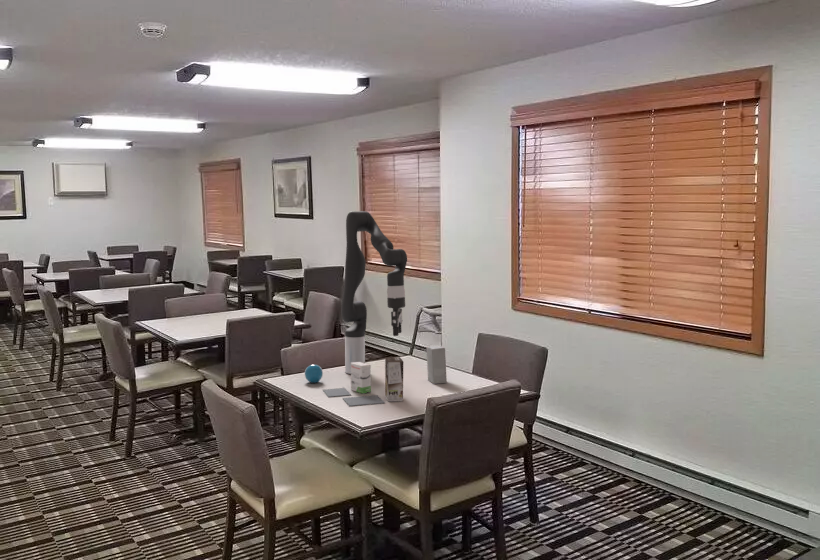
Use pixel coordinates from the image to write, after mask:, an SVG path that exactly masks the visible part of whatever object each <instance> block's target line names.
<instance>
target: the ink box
mask: <svg viewBox="0 0 820 560" xmlns="http://www.w3.org/2000/svg"><path fill="white" fill-rule="evenodd" d="M371 366H372V365H371V364H368V363H366V362H365V363H362V362H353V363H351V374H350V390H351V391H354V392H356V393H359V394H363V393H364V394H367V392H369V393H372V385H371V384H372V379H371V378H372V377H371V375H372V374H371V372H372V371H371V370H372V369H371Z"/></svg>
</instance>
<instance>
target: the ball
mask: <svg viewBox="0 0 820 560" xmlns="http://www.w3.org/2000/svg"><path fill="white" fill-rule="evenodd" d="M323 375H324V373H323V369H322V367H321V366H320V365H318V364H310V365H308V366H307V367H306V368H305V370H304V376H305V377H304V378H305V379H306V381H307V382H309V383H312V384H313V383H314V384H315V383H318V382H320V381H321V380H322V378H323Z"/></svg>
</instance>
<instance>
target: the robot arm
mask: <svg viewBox="0 0 820 560" xmlns="http://www.w3.org/2000/svg"><path fill="white" fill-rule="evenodd" d="M345 219H346V220H345V232H346V233H345V237H346V247H345V248H346V253H345V265H344V287H343V293H342V301H341V307H340V308H341V309H340V311H341V312H340V315H341V318H342V319H341V320H343V321H344V323H353V324H352V325H351V326H349V327H348V328H346V329H345V331H344V369H345V370H344V372H345V374H350V375H351V363H353V362H362V363H365V364H366V360H365V359H366V352H365V351H366V346H365V345H366V341H365V339H366V338H365V337H366V329H367V319H368V318H367V316H368V313H367V312H368V311H367V306H366V304H365V302H364V301H362V300H361V301H360V300H359V301H354V300H355V295H356V292H357V290H358V288H359V287H360V285H361V283H362V281H363V280H364V277H365V275H366V264H367V263H366V261H367V260H366V257H365V255H364V253H363V251H362V249H361V248H360V246H359V243H358V232H359V233H360V232H366V233H369V234H370V243H371V245H372V247H373V248H374V249H375V251H376V252H378V254H379V257H380V259H381V261H382V263H383V264H384V265H385V266H387V267H394V270H393V271H390V272H388V273H387V275H386V281H387V282H386V283H387V290H386V294H387V296H386V297H387V302H386V303H387V308H388V309H392V311H390V317H391V327H392V335H393V337H397V336H399V335H400V334H402V324H403V309H402V308H405V307H406V290H405V271H406V267H407V264H408V263H407V262H408V255H407V252H406V251H405V250H404V249H403V248H394V244H393V242H392V241H391V240H390V239H389V238H388V237H387V236H386V235H385V233H383V231H382V230H381V229H380V226H379V225H378V223H377V222H376V220H375V218H374V217H373V216H372V214H371V213H370V212H368V211H366V210H363V211H362V210H351V211H349V212H348V213H347V214H346V218H345Z"/></svg>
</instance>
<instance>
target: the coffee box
mask: <svg viewBox="0 0 820 560" xmlns="http://www.w3.org/2000/svg"><path fill="white" fill-rule="evenodd" d="M384 360H385V361H384V375H385V376H384V377H385V378H384V381H385V382H384V383H385V385H384V389H385V390H384V394H385V395H384V396H385V398H386V400H387V402H404V361H403V359H402V358H401V357H400V356H397V357H396V356H392V357H385V358H384Z"/></svg>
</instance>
